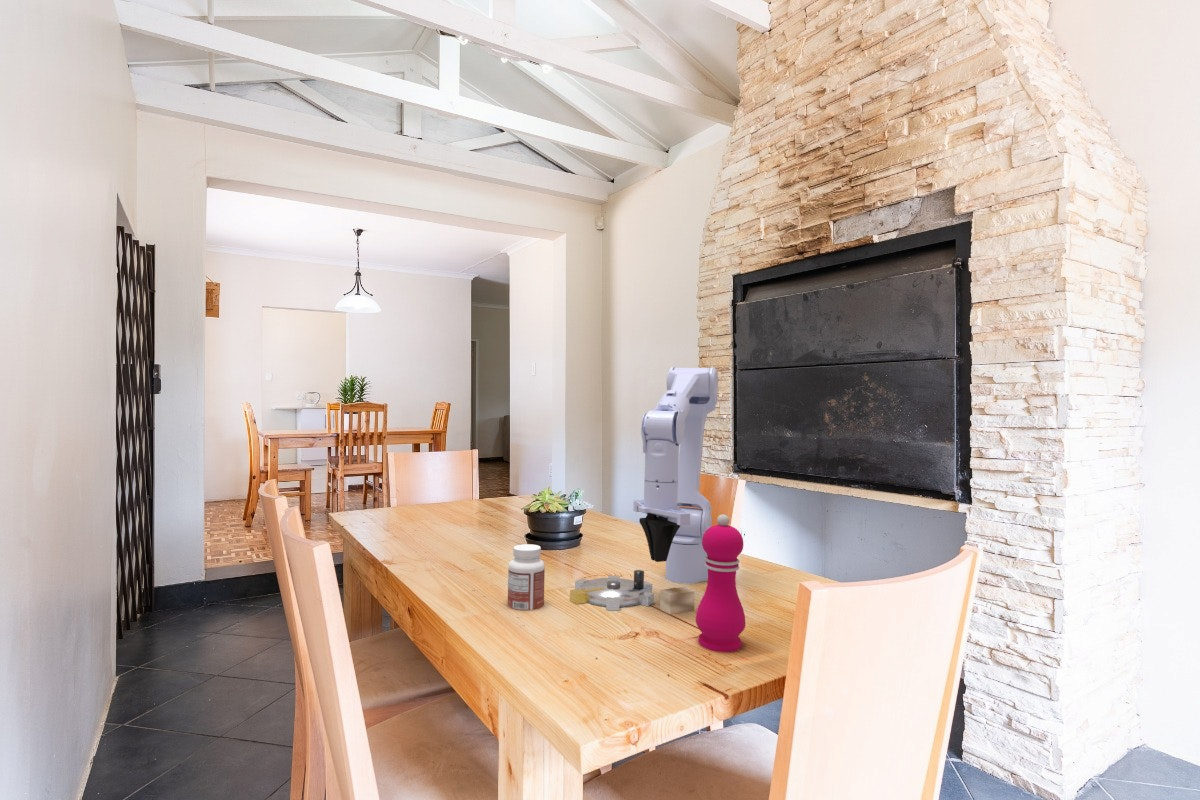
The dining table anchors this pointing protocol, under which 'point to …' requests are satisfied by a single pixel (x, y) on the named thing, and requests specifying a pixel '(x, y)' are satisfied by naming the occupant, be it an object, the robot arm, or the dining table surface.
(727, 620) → the pepper mill
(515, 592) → the pill bottle
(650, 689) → the dining table surface
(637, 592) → the sprocket
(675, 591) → the banded wooden block
